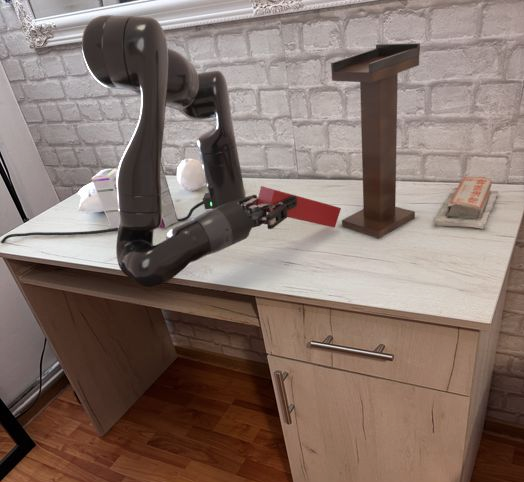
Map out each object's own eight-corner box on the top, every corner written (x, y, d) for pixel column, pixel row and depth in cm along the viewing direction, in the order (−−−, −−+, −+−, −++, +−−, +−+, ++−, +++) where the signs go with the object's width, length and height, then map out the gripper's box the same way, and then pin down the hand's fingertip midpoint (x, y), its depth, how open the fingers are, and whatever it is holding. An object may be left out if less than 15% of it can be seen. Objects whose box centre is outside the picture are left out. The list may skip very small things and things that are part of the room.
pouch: (135, 163, 150) (71, 177, 147) (143, 182, 136) (72, 198, 132) (142, 188, 155) (80, 202, 152) (150, 209, 141) (82, 225, 137)
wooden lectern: (375, 240, 102) (373, 59, 81) (338, 228, 110) (328, 59, 89) (414, 218, 108) (422, 42, 87) (377, 208, 115) (376, 44, 94)
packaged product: (454, 174, 112) (500, 175, 107) (452, 194, 115) (497, 196, 110) (435, 205, 100) (486, 208, 95) (434, 226, 103) (483, 230, 98)
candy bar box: (140, 222, 132) (121, 162, 122) (155, 215, 135) (136, 155, 125) (164, 229, 125) (145, 166, 115) (179, 221, 128) (162, 159, 118)
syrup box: (129, 227, 130) (110, 174, 121) (110, 229, 132) (90, 176, 123) (137, 218, 135) (119, 167, 126) (118, 220, 136) (100, 169, 127)
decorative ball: (172, 201, 148) (167, 160, 144) (205, 199, 151) (201, 159, 148) (178, 200, 140) (173, 157, 136) (212, 198, 143) (208, 156, 140)
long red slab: (268, 212, 93) (274, 190, 92) (255, 208, 96) (260, 186, 95) (335, 227, 106) (341, 208, 105) (321, 223, 109) (327, 204, 108)
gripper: (237, 218, 83) (309, 185, 90) (195, 201, 93) (263, 173, 100) (245, 256, 88) (313, 223, 95) (204, 237, 98) (269, 207, 105)
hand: (287, 197), depth 97 cm, fingers closed on long red slab, 4 cm apart
